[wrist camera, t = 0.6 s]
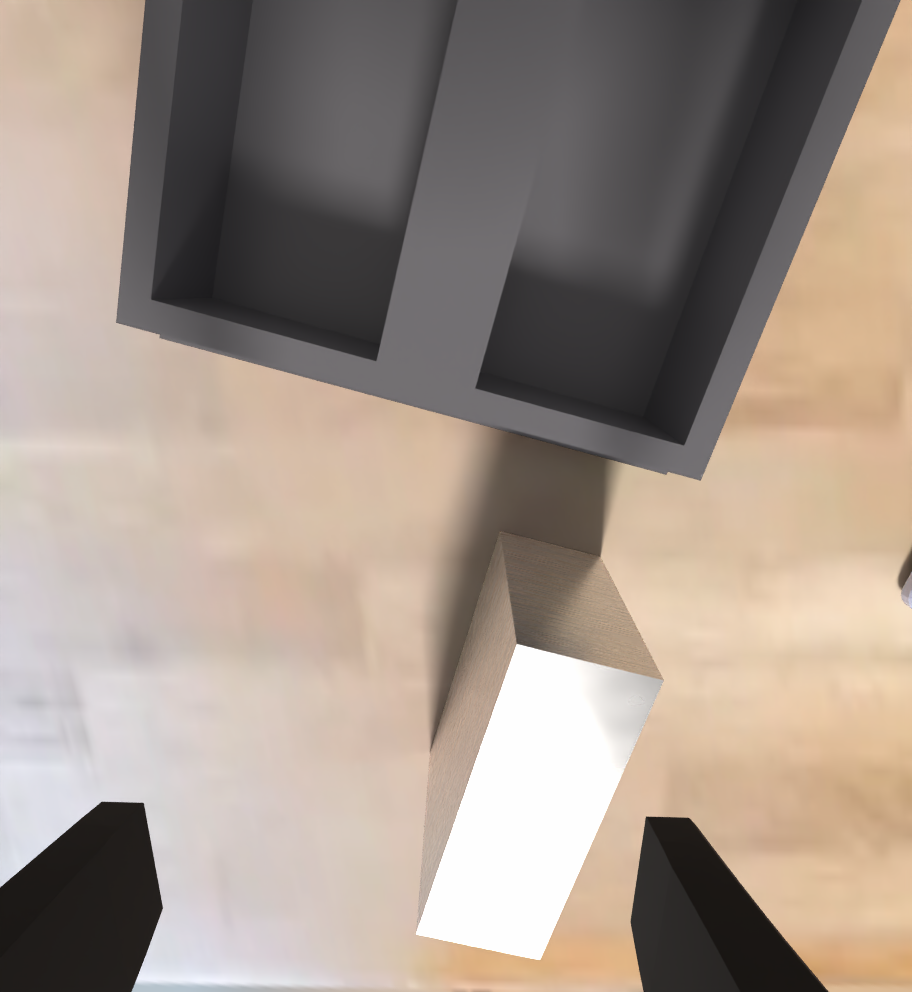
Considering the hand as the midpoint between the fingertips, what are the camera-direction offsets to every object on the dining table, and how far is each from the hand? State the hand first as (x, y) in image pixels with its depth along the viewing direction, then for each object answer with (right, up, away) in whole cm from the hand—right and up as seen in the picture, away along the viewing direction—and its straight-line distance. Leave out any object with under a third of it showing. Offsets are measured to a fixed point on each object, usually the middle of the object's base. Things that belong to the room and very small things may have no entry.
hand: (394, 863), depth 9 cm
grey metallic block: (+3, 0, +10) cm, 10 cm away
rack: (+2, +13, +5) cm, 15 cm away
